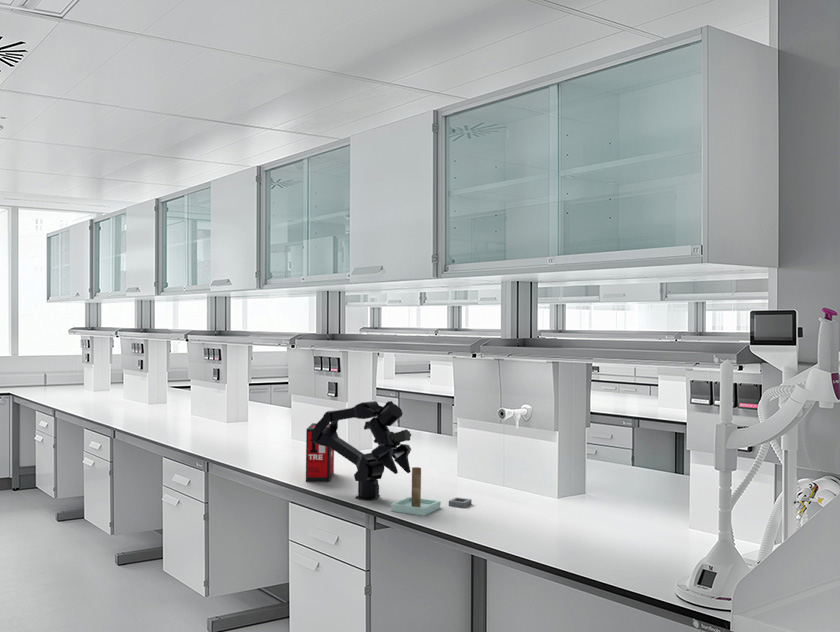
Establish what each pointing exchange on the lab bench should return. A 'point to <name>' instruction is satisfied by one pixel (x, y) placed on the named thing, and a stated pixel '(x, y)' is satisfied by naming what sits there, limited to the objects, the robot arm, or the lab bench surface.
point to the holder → (460, 502)
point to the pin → (416, 487)
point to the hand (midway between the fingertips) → (403, 473)
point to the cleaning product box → (318, 459)
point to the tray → (406, 507)
